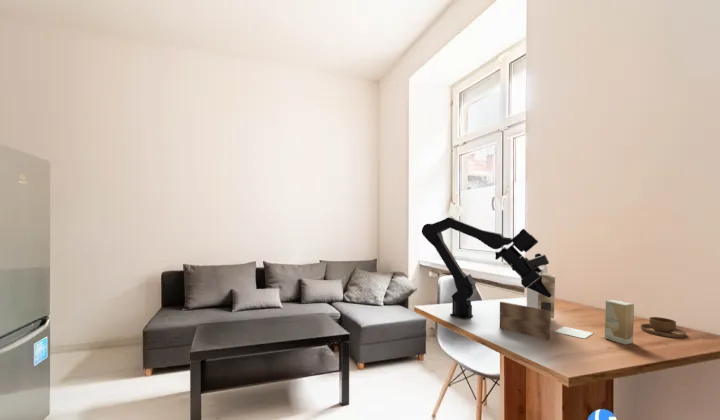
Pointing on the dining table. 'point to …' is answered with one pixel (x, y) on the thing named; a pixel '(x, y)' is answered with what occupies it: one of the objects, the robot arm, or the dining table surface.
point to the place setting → (663, 327)
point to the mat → (574, 332)
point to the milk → (533, 295)
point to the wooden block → (543, 300)
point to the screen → (525, 320)
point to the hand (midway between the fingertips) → (550, 295)
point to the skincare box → (619, 321)
